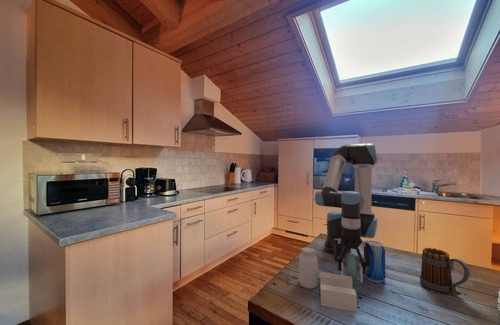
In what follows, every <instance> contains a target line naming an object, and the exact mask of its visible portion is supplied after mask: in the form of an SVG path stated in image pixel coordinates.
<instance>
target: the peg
mask: <svg viewBox="0 0 500 325" xmlns="http://www.w3.org/2000/svg"><path fill="white" fill-rule="evenodd" d="M345 258H346V260H345V262H346V263H345V264H346V276H351V278H352V281H353V286H357V285H358V281H357V280H358V278H357V277H358V276H357V274H358V273H357V272H358V271H357V263H358V262H357V254H355V253H349V254H346V255H345Z"/></svg>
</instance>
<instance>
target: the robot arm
mask: <svg viewBox="0 0 500 325" xmlns="http://www.w3.org/2000/svg"><path fill="white" fill-rule="evenodd" d="M377 155H378V154H377V150H376V145H375V144H374V143H355V144H344V145H342V146H340V147H338V148H336V150H334V152H332V153H331V156H330V158H329V163H330V164H329V166H328V167H329V168H328V171H327V173H326V176H325V179H324V183H323V187H322V189H321V190H317V191H316V192H315V195H314V202H315V204H316V206H321V207H329V208H338V209H339V208H340V209H341V210H333V211H329V212H328V213H327V214H326V239H325V242H324V245H323V247H324V250H325V251H326V252H328V253H330V254H333V262H334V263H337V265H338V266H337V267H338V271H339V272H340V275H345V274H344V262H343V260H344V257H346V254H349V253H350V254H352V250H355V251H356V255H357V256H358V259H359V261H360V263H361V264H359V281H360V283H364V281H363V280H364V279H363V278H364V276H363V275H364V274H365V268H366V266H370V260H369V252H368V247H369V243H368V242H367V241H368V240H363V239H361V238H364V239H365V238H366V239H374V238H375V237H376V233H377V227H378V220H379V219H378V217H376V216H375V213H374V212H373V211H372V170H373V169H374V167H375V164H378V156H377ZM347 164H352V165H351V166H352V167H353V168H354V190H353V191H352V190H346V191H342V192H338V191H339V186H340V182H341V178H342V175H343V174H342V173H343V170H344V167H346V165H347ZM361 244H362V247H363V253H364V252H365V260H366V262H364V257H363V256H362V253H361V250H360V248H359V247H360V246H361ZM338 256H339V257H338Z"/></svg>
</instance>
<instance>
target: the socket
mask: <svg viewBox="0 0 500 325" xmlns="http://www.w3.org/2000/svg"><path fill="white" fill-rule="evenodd" d="M319 275H320V276H319V277H320V278H319V279H320V306H323V307H328V308H332V309H333V308H334V309H338V310H343V311H344V310H345V311H348V312H349V311H350V312H355V313H357V310H358V309H357V307H358V306H357V304H358V303H357V292H356V289H355V288H353V286H354V285H353V281H352V278H351V276H347V275H345V274H344V275H341V274H336V273H329V272H324V271H320V274H319Z"/></svg>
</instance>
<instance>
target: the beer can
mask: <svg viewBox="0 0 500 325" xmlns="http://www.w3.org/2000/svg"><path fill="white" fill-rule="evenodd" d="M366 241H367V242H368V243H369V247H368V252H369V260H370V266H366V268H365V274H363V275H364V276H365V278H366V279H367V280H369V281H370V282H372V283H377V284H380V283H383V282H384V281H385V280H386V250H385V248H384V246H383V243H382V242H380V241H377V240H376V241H375V240H366ZM363 261H364V262H366V260H365V252H364V251H363Z"/></svg>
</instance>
